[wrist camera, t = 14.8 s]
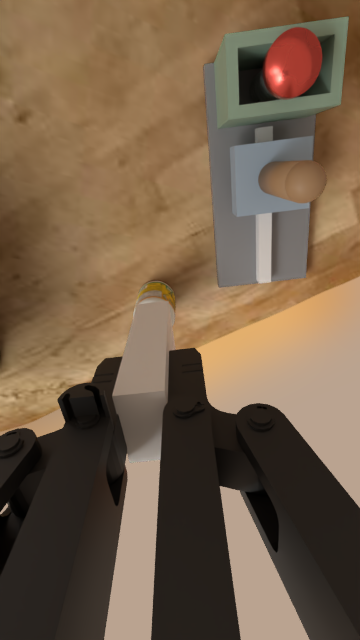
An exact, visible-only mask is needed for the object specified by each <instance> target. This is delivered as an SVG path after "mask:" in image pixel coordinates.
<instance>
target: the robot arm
mask: <svg viewBox="0 0 360 640" xmlns="http://www.w3.org/2000/svg"><path fill="white" fill-rule="evenodd" d="M58 403H59V406H60V408H61V411H62V414H63V416H64V419H65V424H64V427H63V428H62V429H60V430H57V431H55V432H52V433H49V434H46V435H43V436H40V437H36V435H35V433H34V432H33V430H30V429H27V428H22V429H15V430H12V431H9V432H7V433H5V434H3V435H2V436H0V512H1V510H2V509H3V507H4V506H5V505H6V503H7V504H8V508H7V509H6V510H5V511H4V512H3V513H2V514H0V640H104V635H105V627H106V621H107V614H108V608H109V601H110V594H111V587H112V580H113V574H114V567H115V560H116V553H117V547H118V540H119V533H120V525H121V519H122V512H123V505H124V499H125V492H126V485H127V470H126V467H125V460H126V454H128V457H129V462H130V463H134V462H144V461H155V460H160V478H159V498H158V518H157V537H156V558H155V576H154V577H155V578H154V595H153V616H152V636H151V640H241V639H240V631H239V624H238V617H237V610H236V603H235V595H234V588H233V581H232V573H231V566H230V559H229V551H228V544H227V537H226V530H225V523H224V515H223V508H222V500H221V493H220V486H223V487H227V488H231V489H236V490H240V492H241V495H242V497H243V499H244V501H245V503H246V506H247V508H248V510H249V512H250V514H251V516H252V518H253V520H254V522H255V524H256V527H257V529H258V531H259V533H260V535H261V537H262V540H263V541H264V544H265V546H266V548H267V550H268V552H269V554H270V556H271V559H272V561H273V563H274V565H275V567H276V569H277V571H278V573H279V576H280V578H281V580H282V582H283V584H284V586H285V588H286V590H287V593H288V594H289V597H290V599H291V601H292V603H293V605H294V607H295V609H296V612H297V614H298V616H299V618H300V620H301V622H302V624H303V626H304V628H305V631H306V633H307V635H308V637H309V639H310V640H360V508H359V507H358V505H357V504H356V503H355V502H354V500H353V499H352V498H351V497H350V495H349V494H348V493H347V492H346V490H345V489H344V488H343V487H342V486H341V484H340V483H339V482H338V481H337V479H336V478H335V477H334V476H333V474H332V473H331V472H330V471H329V469H328V468H327V467H326V466H325V465H324V464H323V462H322V461H321V460H320V459H319V457H318V456H317V455H316V453H315V452H314V451H313V450H312V448H311V447H310V446H309V445H308V444H307V442H306V441H305V440H304V439H303V437H302V436H301V435H300V434H299V432H298V431H297V430H296V429H295V428H294V426H293V425H292V424H291V423H290V421H289V420H288V419H287V418H286V416H285V415H284V414H283V413H282V412H281V411H280V410H278V409H277V408H275V407H273V406H270V405H268V404H260V403H257V404H250V405H248V406H246V407H243V408H242V409H241V410H240V411H239V412H238V413H237V414H231V413H226V412H222V411H219V410H217V409H215V408H214V407H212V406H211V405H210V403H209V402H208V399H207V395H206V388H205V381H204V374H203V367H202V360H201V354H200V353H199V352H198V351H197V350H196V349H195V348H189V349H180V350H175V343H174V336H173V329H172V322H171V315H170V308H169V301H161V302H153V303H144V304H137V306H136V309H135V313H134V317H133V320H132V324H131V328H130V332H129V335H128V339H127V343H126V346H125V350H124V354H123V357H114V358H105V359H104V360H103V361H102V362H101V363H100V364H99V365H98V366H97V369H96V372H95V374H94V377H93V379H92V382H91V383H83V384H78V385H76V386H74V387H71V388H69V389H68V390H66V391H65V392H64V393H62V394H61V396H60V397H59V398H58Z"/></svg>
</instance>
